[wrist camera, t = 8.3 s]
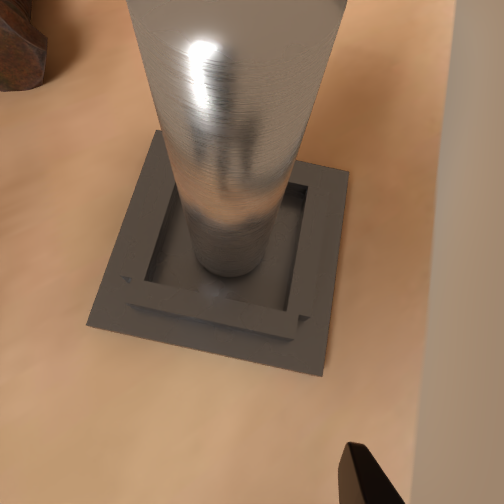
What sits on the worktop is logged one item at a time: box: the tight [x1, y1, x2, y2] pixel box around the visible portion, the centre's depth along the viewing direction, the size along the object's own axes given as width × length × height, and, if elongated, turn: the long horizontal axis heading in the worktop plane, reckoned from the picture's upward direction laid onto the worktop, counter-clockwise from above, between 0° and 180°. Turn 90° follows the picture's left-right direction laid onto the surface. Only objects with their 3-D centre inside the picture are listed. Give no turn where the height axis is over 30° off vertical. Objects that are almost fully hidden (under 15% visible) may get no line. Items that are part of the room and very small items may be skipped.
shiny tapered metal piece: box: [126, 0, 347, 277], centre depth 13 cm, size 4×4×14 cm
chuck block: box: [86, 130, 349, 377], centre depth 19 cm, size 12×12×2 cm
